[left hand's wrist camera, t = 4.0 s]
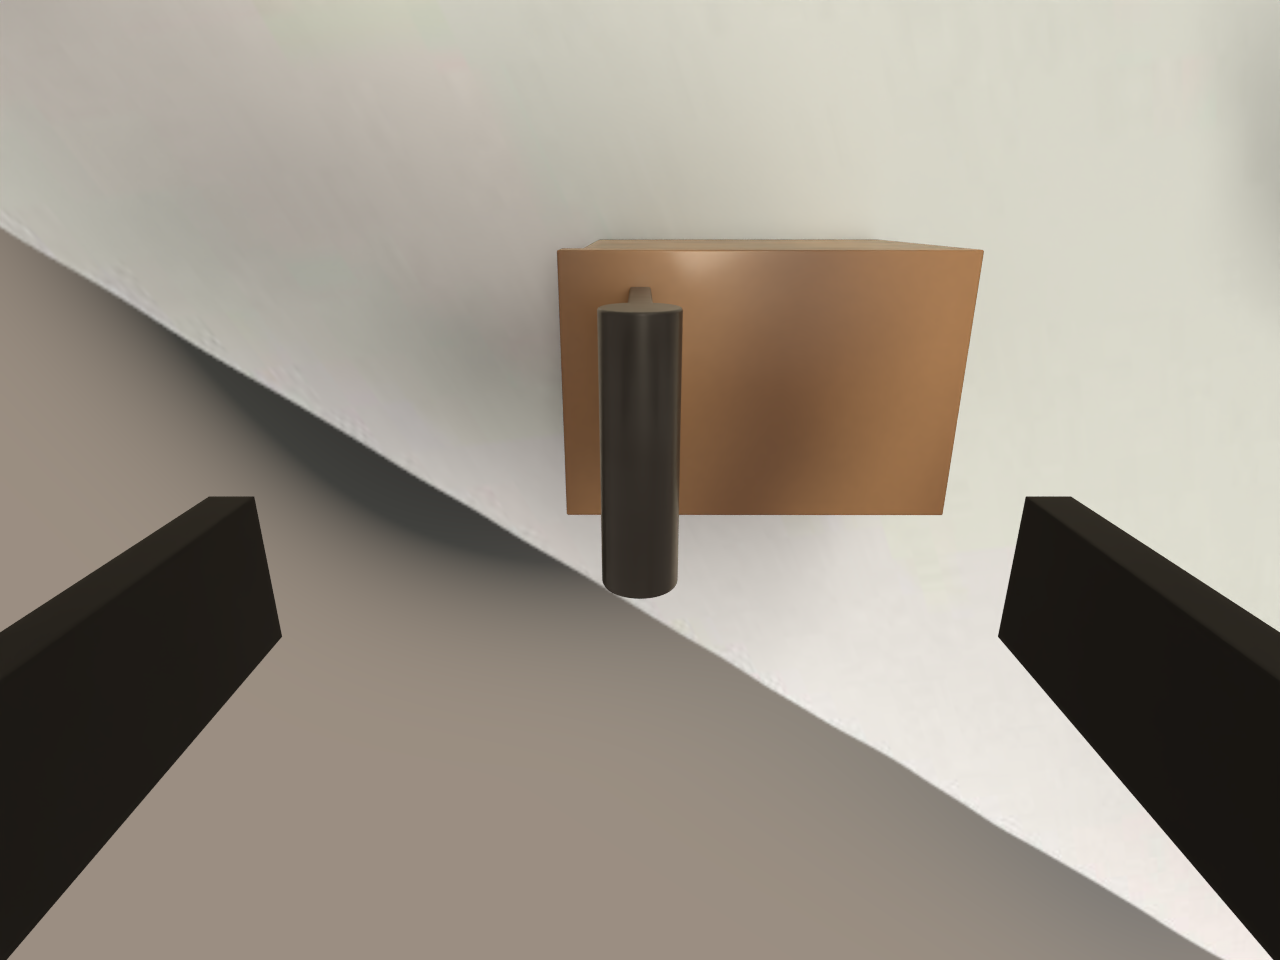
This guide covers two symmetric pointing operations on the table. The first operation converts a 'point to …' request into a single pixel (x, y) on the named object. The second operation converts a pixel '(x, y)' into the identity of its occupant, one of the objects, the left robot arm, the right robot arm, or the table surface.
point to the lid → (756, 388)
